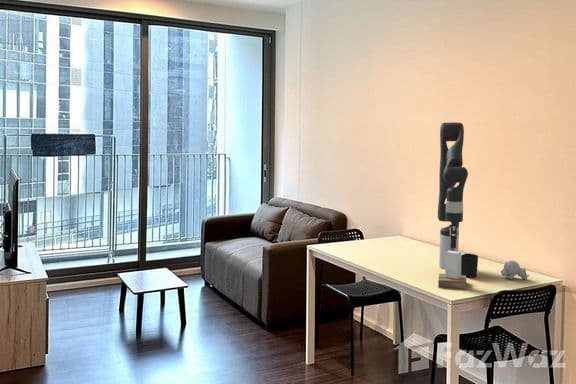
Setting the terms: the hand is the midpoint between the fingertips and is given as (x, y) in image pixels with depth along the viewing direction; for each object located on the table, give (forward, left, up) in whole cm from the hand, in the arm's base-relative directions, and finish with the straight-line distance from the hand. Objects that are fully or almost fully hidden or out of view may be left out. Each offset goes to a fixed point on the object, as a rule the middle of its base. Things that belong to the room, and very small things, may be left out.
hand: (453, 246), depth 242 cm
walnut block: (0, 0, -19) cm, 19 cm away
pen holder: (-19, +7, -18) cm, 27 cm away
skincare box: (0, 0, -15) cm, 15 cm away
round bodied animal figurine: (-19, +29, -18) cm, 39 cm away
